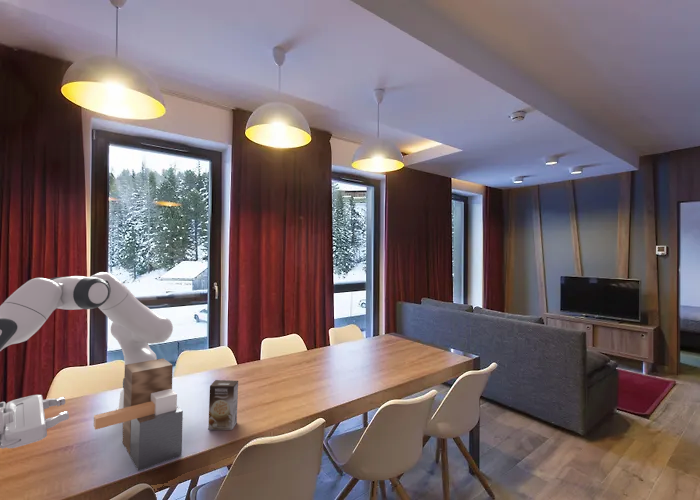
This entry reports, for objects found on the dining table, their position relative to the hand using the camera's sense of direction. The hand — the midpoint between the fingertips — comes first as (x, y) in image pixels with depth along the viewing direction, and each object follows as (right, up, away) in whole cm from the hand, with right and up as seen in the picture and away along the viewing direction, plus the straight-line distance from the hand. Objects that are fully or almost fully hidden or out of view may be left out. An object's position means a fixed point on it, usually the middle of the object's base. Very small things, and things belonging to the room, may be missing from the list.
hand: (66, 407), depth 96 cm
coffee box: (+31, -22, +33) cm, 51 cm away
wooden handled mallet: (+13, -7, +10) cm, 18 cm away
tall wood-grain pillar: (+10, -22, +21) cm, 32 cm away
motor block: (+17, -21, +13) cm, 31 cm away
